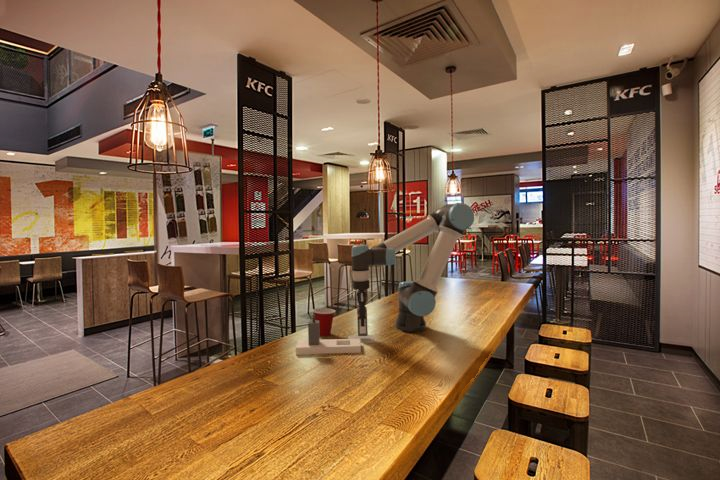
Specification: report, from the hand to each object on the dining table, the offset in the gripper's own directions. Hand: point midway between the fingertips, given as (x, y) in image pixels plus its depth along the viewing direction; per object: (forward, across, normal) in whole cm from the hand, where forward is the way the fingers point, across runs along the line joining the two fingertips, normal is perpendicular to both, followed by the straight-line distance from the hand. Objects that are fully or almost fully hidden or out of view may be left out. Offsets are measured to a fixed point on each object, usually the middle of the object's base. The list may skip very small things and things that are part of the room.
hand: (362, 331), depth 163 cm
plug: (+1, 0, 0) cm, 1 cm away
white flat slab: (+4, 0, -1) cm, 4 cm away
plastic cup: (+4, -8, -18) cm, 20 cm away
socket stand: (+3, +12, -15) cm, 19 cm away
